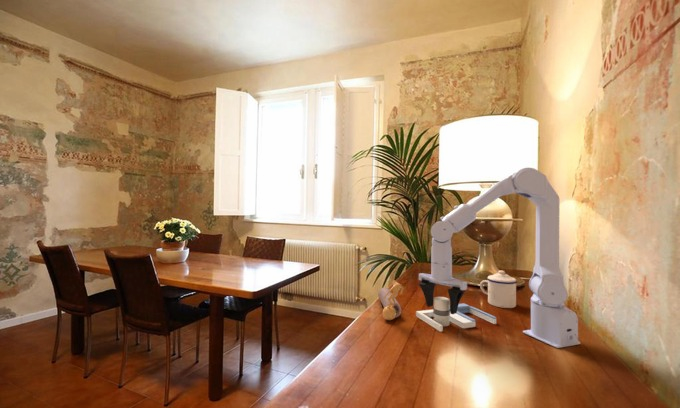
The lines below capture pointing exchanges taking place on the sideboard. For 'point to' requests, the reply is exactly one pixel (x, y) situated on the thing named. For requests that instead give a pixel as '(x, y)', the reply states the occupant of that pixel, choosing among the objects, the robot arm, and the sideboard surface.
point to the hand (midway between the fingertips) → (441, 309)
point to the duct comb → (457, 317)
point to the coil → (386, 303)
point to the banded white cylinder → (442, 310)
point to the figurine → (389, 311)
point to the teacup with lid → (501, 290)
